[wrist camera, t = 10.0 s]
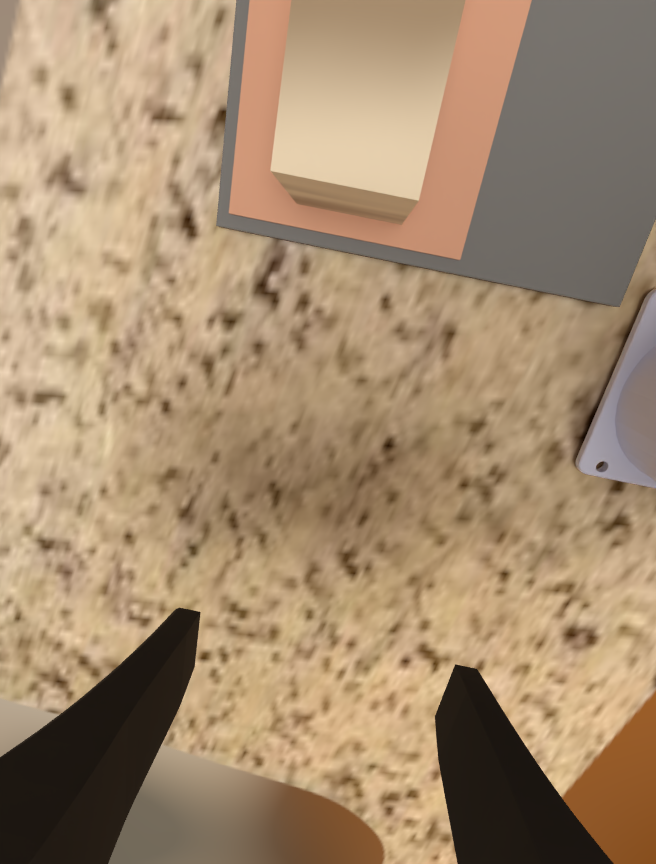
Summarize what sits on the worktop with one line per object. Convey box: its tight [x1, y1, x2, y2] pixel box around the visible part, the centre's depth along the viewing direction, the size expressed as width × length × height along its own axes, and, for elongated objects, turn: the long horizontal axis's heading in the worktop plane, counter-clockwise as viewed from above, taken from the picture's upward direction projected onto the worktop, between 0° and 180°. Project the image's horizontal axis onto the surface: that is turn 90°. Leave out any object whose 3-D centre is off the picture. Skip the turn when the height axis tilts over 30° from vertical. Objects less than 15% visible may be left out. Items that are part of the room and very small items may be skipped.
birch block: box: [270, 0, 465, 225], centre depth 12 cm, size 7×4×5 cm, turn 169°
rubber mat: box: [216, 0, 656, 307], centre depth 14 cm, size 16×16×1 cm
